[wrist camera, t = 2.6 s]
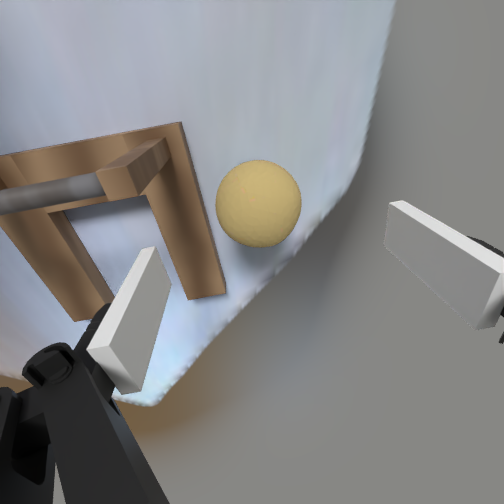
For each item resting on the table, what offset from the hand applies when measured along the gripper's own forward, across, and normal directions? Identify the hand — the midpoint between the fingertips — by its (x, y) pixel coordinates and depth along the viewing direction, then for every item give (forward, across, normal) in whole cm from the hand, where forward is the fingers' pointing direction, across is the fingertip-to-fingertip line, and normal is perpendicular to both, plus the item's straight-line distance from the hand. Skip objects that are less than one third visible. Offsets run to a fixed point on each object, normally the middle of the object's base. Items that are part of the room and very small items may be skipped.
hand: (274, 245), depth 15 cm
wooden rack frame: (+12, -14, -3) cm, 19 cm away
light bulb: (+13, 0, 0) cm, 13 cm away
